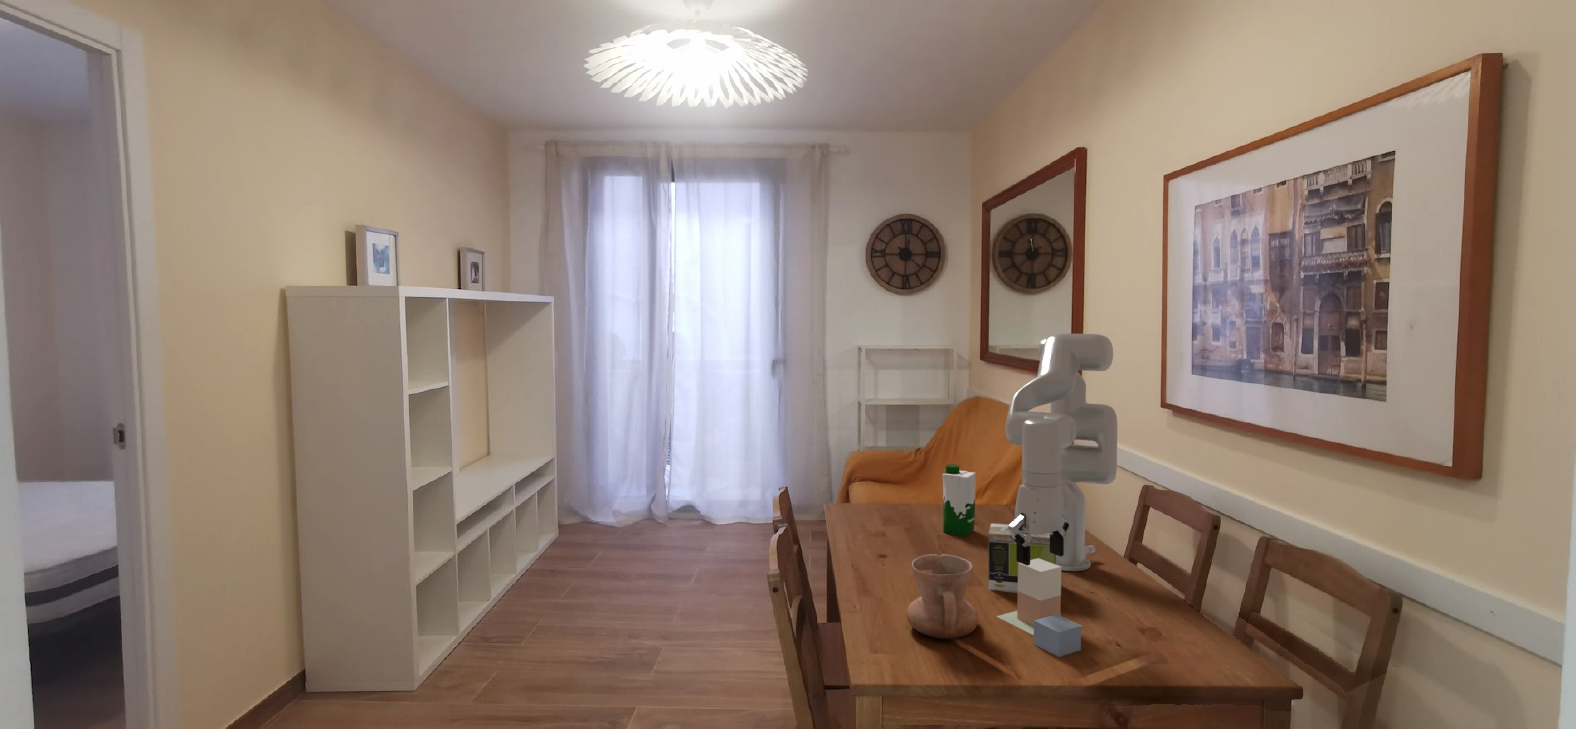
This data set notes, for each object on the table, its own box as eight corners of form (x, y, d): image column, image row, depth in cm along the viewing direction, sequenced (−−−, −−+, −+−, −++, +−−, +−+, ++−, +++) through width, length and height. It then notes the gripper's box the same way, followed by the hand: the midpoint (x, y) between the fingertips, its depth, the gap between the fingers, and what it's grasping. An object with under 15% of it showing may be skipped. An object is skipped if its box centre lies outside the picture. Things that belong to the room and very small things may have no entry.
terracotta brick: (1037, 613, 151) (1037, 585, 151) (1060, 623, 146) (1060, 595, 146) (1017, 618, 148) (1017, 590, 148) (1039, 629, 143) (1040, 600, 143)
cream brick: (1037, 585, 151) (1038, 558, 151) (1060, 595, 146) (1061, 566, 145) (1017, 590, 148) (1018, 562, 148) (1040, 600, 143) (1040, 571, 142)
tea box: (1054, 587, 169) (1055, 526, 168) (1056, 602, 160) (1057, 538, 159) (989, 579, 174) (990, 520, 173) (987, 594, 165) (988, 532, 164)
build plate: (1036, 610, 155) (1036, 605, 155) (1082, 631, 145) (1082, 625, 145) (996, 621, 150) (996, 616, 150) (1040, 644, 139) (1040, 638, 139)
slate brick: (1055, 643, 140) (1055, 614, 139) (1080, 656, 134) (1081, 625, 134) (1033, 650, 137) (1034, 620, 137) (1058, 663, 132) (1058, 632, 131)
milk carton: (949, 525, 220) (950, 462, 219) (978, 530, 215) (978, 465, 214) (939, 532, 213) (939, 467, 211) (968, 537, 208) (969, 470, 206)
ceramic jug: (903, 611, 155) (903, 548, 154) (970, 613, 154) (970, 549, 153) (910, 651, 137) (910, 580, 136) (986, 653, 136) (986, 582, 135)
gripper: (1055, 469, 153) (1054, 546, 154) (996, 480, 145) (996, 561, 146) (1085, 476, 146) (1083, 556, 148) (1024, 488, 138) (1023, 573, 140)
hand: (1040, 558), depth 147 cm, fingers open, 9 cm apart
